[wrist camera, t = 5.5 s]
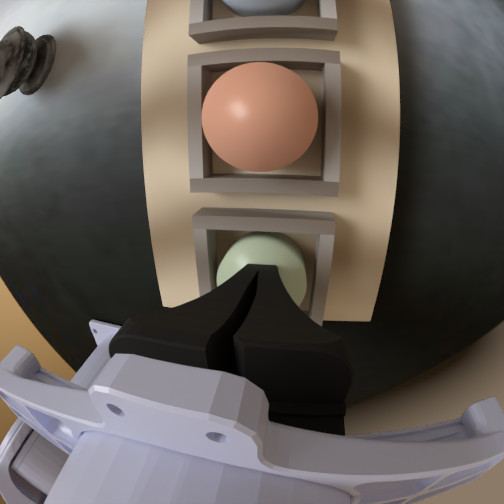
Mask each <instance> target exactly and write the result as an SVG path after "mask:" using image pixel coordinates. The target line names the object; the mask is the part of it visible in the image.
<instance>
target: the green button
mask: <svg viewBox="0 0 504 504" xmlns="http://www.w3.org/2000/svg"><path fill="white" fill-rule="evenodd" d="M247 264H265V265H276V266H277V267H278V271H279V275H280V278H281V280H282V282H283V284H284V286H285V288H286V290H287V292H288V293H289V295H290V296H291V298H292V299H293V301H294V302H295V303H296V304H297V306H298V307H299V305H300V304H301V303H302V301H303V299H304V296H305V293H306V288H307V281H306V266H305V260H304V257H303V254H302V252H301V250H300V249H299V247H298V246H297V245H296V244H295V243H294V242H293V241H292V240H291V239H289V238H288V237H286V236H284V235H282V234H280V233H277V232H263V231H253V232H249V233H247V234H244V235H243V236H241V237H239V238H238V239H237V240H236V241H235V242H234V243H233V244H232V245H231V246H230V248H229V250H228V251H227V253H226V255H225V257H224V258H223V260H222V262H221V264H220V266H219V269H218V272H217V287H218V286H219V285H221V284H222V283H224V282H225V281H227V280H228V279H229V278H231V277H232V276H233V275H234V274H236V273H237V272H238V271H239V270H240V269H242V268H243V267H244V266H245V265H247Z"/></svg>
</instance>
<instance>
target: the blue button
mask: <svg viewBox="0 0 504 504" xmlns="http://www.w3.org/2000/svg"><path fill="white" fill-rule="evenodd" d="M222 1H223V3H224V4H225V6H226V7H227V8H228V9H229V10H230V11H232V12H233V13H235V14H236V15H239V16H241V17H249V16H278V15H283V16H287V15H289V14H291V13H293V12H295V11H296V10H297V9H299V8H300V7H301V6H302V5H303V3H304V2H305V0H222Z"/></svg>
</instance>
